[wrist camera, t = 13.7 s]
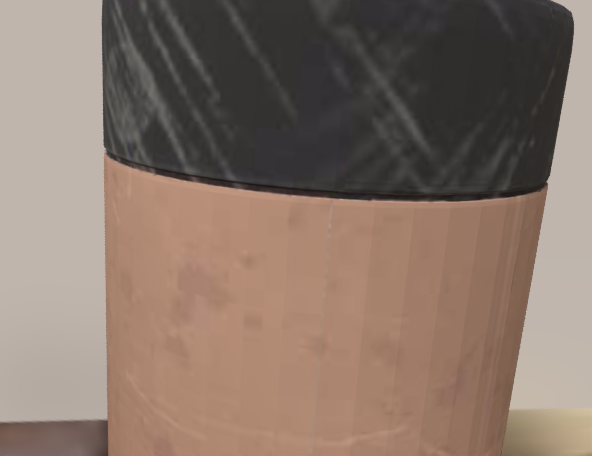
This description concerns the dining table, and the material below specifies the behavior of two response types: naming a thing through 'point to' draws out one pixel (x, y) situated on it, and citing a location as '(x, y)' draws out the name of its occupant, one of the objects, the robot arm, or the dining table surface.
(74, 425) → the dining table surface
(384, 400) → the travel mug
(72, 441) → the dining table surface
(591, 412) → the dining table surface
